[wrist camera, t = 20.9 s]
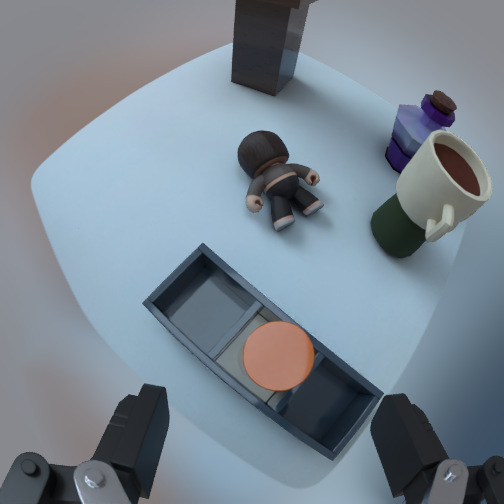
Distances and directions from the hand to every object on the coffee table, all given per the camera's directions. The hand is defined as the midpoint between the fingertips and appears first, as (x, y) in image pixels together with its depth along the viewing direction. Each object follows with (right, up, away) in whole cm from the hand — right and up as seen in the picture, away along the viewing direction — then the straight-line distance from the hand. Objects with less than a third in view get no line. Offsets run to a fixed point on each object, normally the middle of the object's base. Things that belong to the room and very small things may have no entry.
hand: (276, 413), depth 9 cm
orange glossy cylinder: (0, -3, +13) cm, 14 cm away
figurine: (+1, +12, +21) cm, 25 cm away
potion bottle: (+19, +18, +25) cm, 36 cm away
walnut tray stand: (+1, +32, +29) cm, 43 cm away
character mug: (+14, +8, +20) cm, 26 cm away
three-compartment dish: (0, -3, +14) cm, 15 cm away
